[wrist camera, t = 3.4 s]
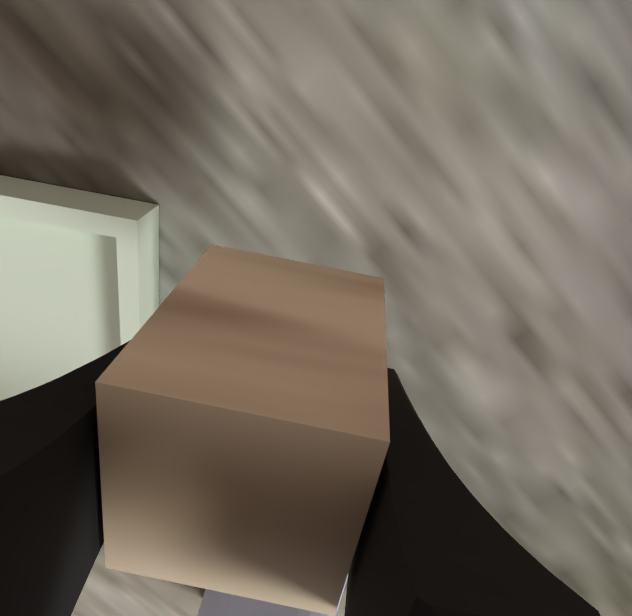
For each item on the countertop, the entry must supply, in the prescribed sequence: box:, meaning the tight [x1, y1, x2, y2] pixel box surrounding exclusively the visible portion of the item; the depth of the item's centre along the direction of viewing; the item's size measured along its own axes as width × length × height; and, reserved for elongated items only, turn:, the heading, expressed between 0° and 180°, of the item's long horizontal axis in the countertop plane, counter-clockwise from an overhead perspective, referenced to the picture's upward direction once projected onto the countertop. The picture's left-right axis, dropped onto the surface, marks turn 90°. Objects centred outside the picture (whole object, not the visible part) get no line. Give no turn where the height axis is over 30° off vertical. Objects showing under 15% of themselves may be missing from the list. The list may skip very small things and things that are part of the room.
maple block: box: [95, 245, 390, 616], centre depth 11 cm, size 4×4×6 cm
